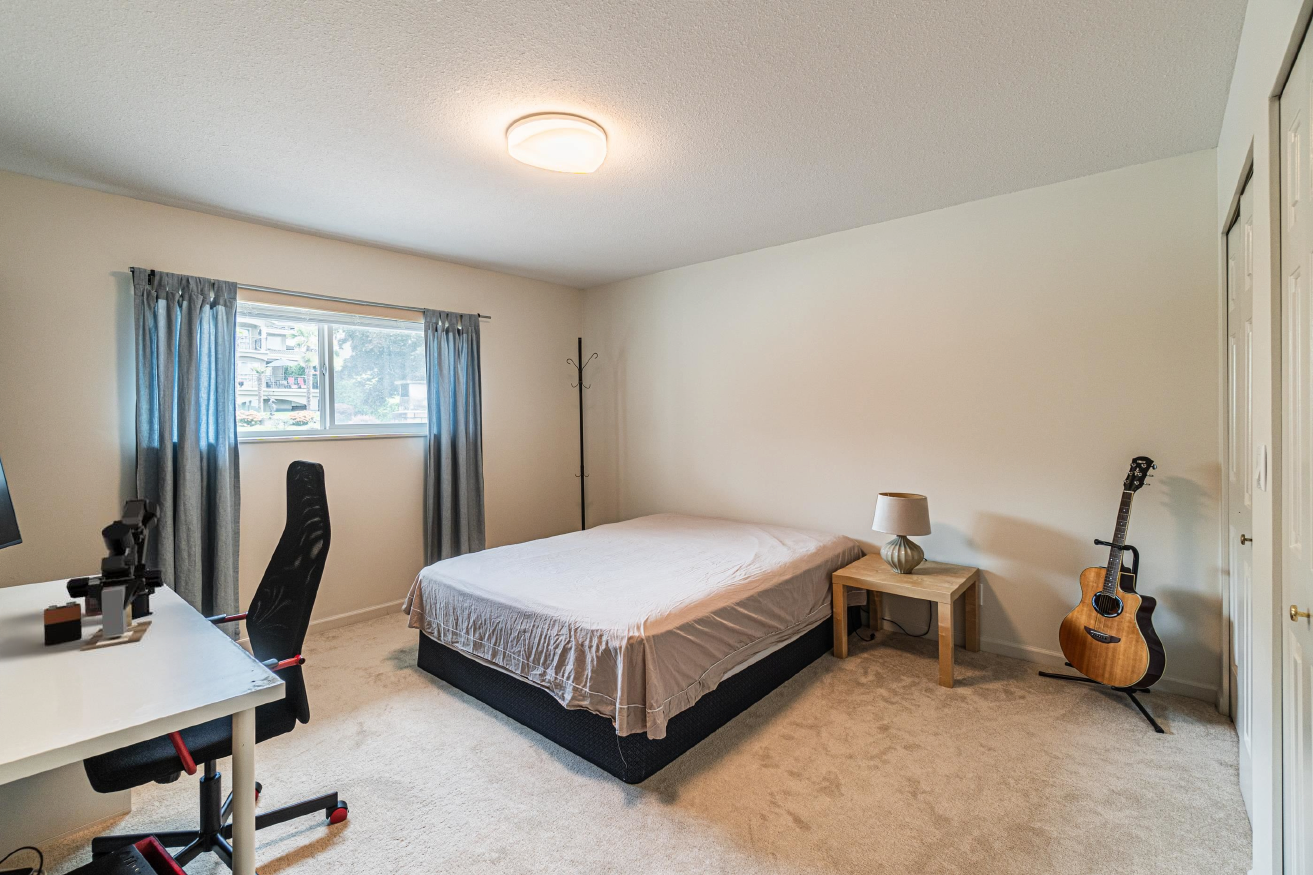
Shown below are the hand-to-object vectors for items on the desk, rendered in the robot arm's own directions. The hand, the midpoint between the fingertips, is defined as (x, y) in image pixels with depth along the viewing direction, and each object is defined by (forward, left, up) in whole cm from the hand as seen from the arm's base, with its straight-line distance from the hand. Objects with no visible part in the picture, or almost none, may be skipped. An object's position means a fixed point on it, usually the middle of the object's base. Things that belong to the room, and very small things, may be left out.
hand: (113, 610), depth 148 cm
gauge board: (-4, -5, -8) cm, 10 cm away
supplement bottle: (-15, -36, -9) cm, 40 cm away
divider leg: (-1, -1, -7) cm, 7 cm away
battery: (+3, -15, -9) cm, 18 cm away
